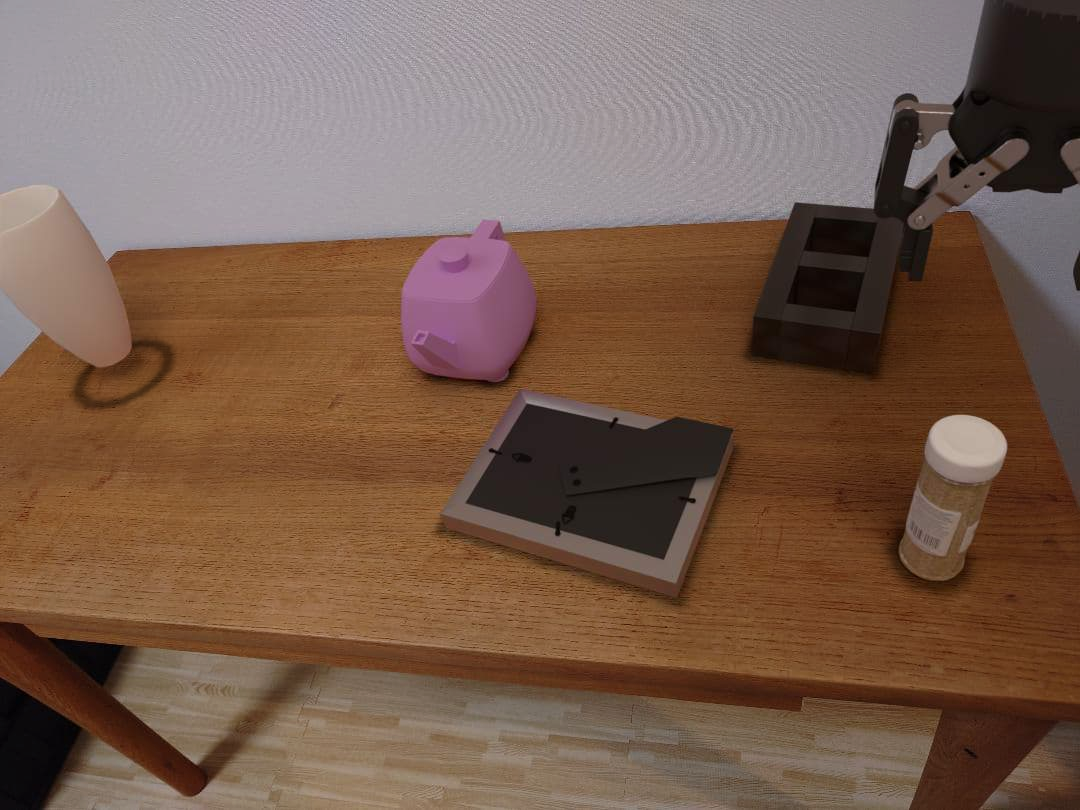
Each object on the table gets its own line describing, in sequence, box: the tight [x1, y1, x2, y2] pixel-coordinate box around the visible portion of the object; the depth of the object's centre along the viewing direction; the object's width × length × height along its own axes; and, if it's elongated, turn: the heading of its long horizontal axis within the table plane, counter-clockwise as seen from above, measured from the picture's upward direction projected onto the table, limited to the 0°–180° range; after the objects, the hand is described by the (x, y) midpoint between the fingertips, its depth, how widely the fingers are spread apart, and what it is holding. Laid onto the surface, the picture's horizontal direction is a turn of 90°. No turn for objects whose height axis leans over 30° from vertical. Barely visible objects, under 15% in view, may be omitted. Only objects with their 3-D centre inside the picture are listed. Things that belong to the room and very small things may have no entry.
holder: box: [751, 201, 903, 375], centre depth 81 cm, size 11×20×5 cm, turn 157°
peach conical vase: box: [0, 184, 133, 368], centre depth 85 cm, size 10×10×22 cm
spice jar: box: [898, 414, 1008, 582], centre depth 56 cm, size 5×5×14 cm
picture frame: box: [439, 388, 734, 599], centre depth 69 cm, size 16×3×21 cm
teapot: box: [400, 219, 538, 383], centre depth 81 cm, size 20×12×13 cm, turn 161°
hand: (996, 278), depth 46 cm, fingers open, 8 cm apart
